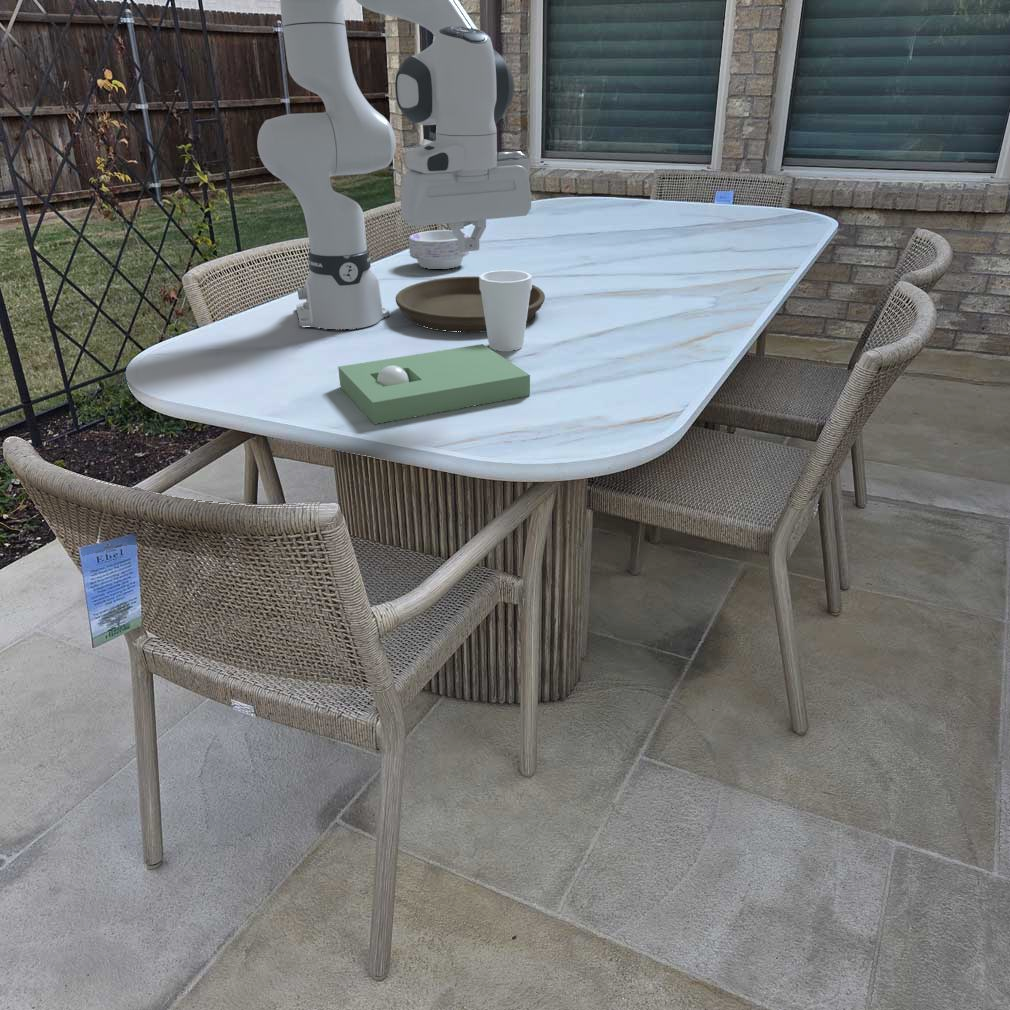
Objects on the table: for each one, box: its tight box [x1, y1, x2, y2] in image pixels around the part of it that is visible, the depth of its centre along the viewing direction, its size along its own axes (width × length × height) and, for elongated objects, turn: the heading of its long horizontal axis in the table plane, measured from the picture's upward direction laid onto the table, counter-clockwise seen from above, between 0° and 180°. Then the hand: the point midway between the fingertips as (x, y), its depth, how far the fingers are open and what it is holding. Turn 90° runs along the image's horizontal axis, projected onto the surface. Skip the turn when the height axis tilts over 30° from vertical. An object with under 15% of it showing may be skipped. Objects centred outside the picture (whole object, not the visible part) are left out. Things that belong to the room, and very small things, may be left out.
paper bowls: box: [408, 229, 470, 270], centre depth 217 cm, size 15×15×8 cm
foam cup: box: [478, 269, 533, 352], centre depth 157 cm, size 10×9×13 cm
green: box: [337, 343, 531, 425], centre depth 138 cm, size 18×26×4 cm
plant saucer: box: [395, 275, 546, 333], centre depth 178 cm, size 31×31×5 cm
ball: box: [377, 366, 409, 386], centre depth 135 cm, size 5×5×5 cm
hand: (468, 250), depth 132 cm, fingers closed
